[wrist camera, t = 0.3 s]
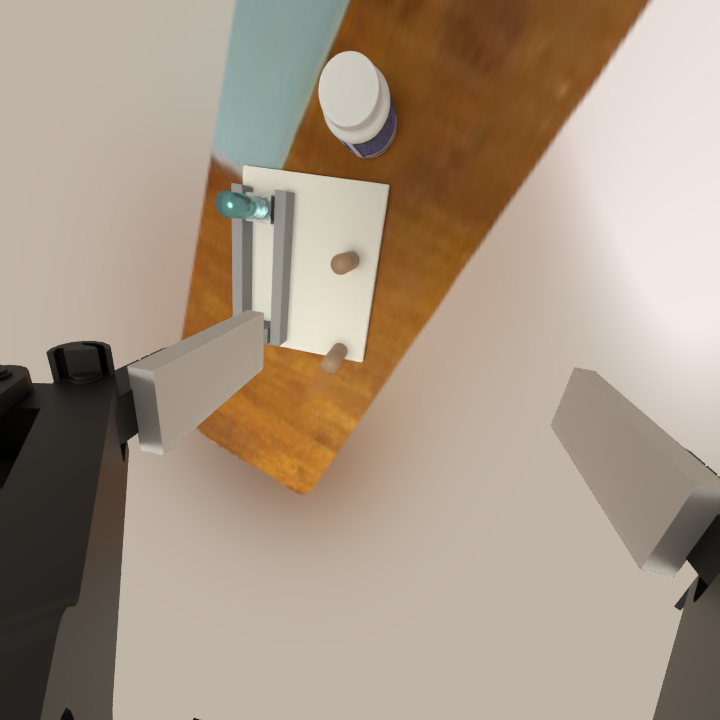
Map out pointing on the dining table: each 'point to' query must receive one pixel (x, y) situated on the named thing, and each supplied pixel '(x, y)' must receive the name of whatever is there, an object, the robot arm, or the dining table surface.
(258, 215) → the pin
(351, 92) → the pill bottle
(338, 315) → the board
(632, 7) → the dining table surface
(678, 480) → the robot arm
